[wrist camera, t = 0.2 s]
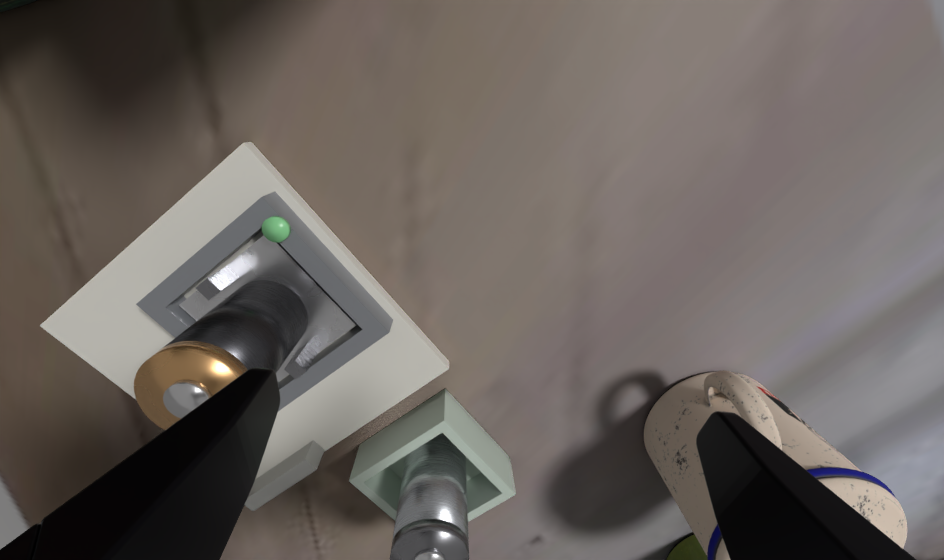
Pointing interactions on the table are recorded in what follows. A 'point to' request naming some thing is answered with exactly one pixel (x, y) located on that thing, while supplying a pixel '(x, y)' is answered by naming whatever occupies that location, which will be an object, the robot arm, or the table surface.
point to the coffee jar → (13, 4)
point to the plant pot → (688, 550)
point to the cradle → (282, 268)
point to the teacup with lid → (732, 392)
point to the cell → (221, 350)
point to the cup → (439, 414)
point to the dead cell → (432, 504)
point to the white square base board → (212, 248)
